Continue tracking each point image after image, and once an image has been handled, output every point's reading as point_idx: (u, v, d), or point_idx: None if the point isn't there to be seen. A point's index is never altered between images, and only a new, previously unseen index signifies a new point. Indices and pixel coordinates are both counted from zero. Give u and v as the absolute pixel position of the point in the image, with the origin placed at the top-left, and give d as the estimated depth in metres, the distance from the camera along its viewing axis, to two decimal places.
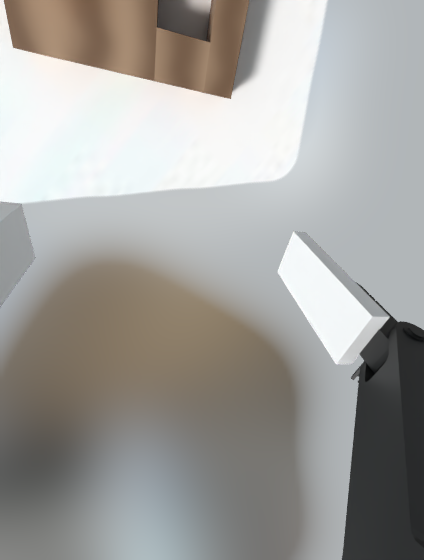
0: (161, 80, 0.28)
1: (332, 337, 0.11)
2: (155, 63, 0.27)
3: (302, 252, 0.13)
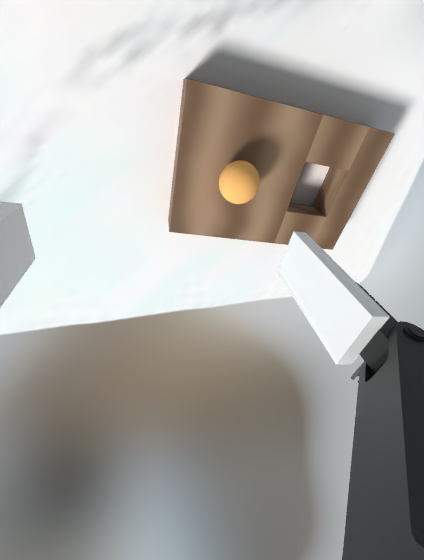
0: (280, 242, 0.32)
1: (332, 337, 0.11)
2: (278, 232, 0.32)
3: (302, 252, 0.13)
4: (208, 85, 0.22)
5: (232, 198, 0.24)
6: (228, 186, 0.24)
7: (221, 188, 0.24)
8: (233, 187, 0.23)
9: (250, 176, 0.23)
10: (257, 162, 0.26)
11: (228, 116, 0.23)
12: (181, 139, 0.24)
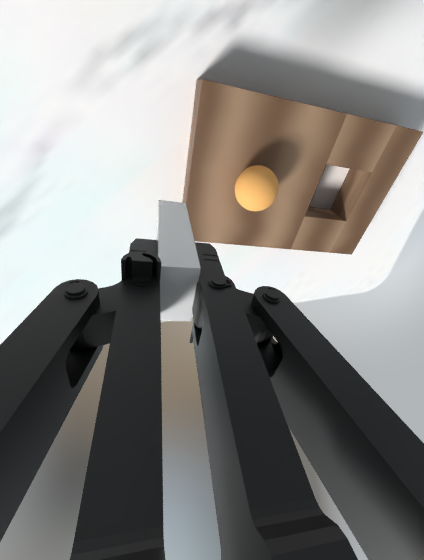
0: (296, 248, 0.31)
1: None
2: (295, 238, 0.30)
3: None
4: (224, 86, 0.20)
5: (249, 206, 0.23)
6: (246, 193, 0.22)
7: (237, 195, 0.23)
8: (251, 194, 0.22)
9: (269, 182, 0.22)
10: (275, 166, 0.25)
11: (245, 118, 0.22)
12: (195, 144, 0.22)
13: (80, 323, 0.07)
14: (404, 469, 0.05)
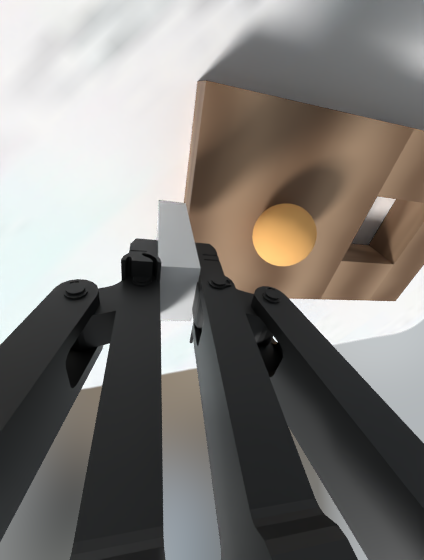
0: (328, 298, 0.24)
1: None
2: (327, 286, 0.23)
3: None
4: (240, 90, 0.13)
5: (274, 261, 0.16)
6: (271, 246, 0.15)
7: (257, 246, 0.16)
8: (279, 248, 0.15)
9: (306, 231, 0.15)
10: (307, 201, 0.18)
11: (270, 138, 0.15)
12: (196, 175, 0.15)
13: (80, 323, 0.07)
14: (404, 469, 0.05)
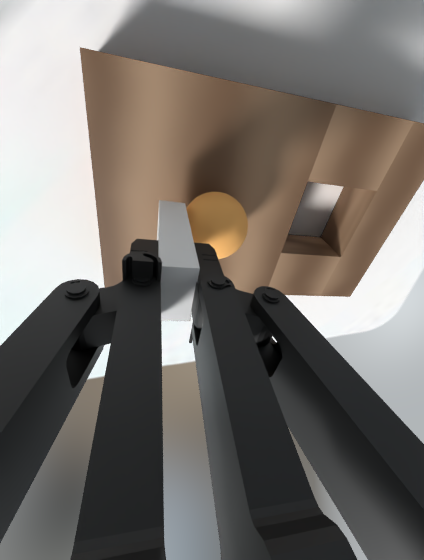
0: None
1: None
2: (270, 281, 0.22)
3: None
4: (123, 59, 0.12)
5: None
6: (211, 244, 0.14)
7: None
8: (219, 244, 0.14)
9: (241, 220, 0.14)
10: (229, 187, 0.16)
11: (169, 114, 0.13)
12: (93, 157, 0.14)
13: (81, 323, 0.07)
14: (404, 469, 0.05)
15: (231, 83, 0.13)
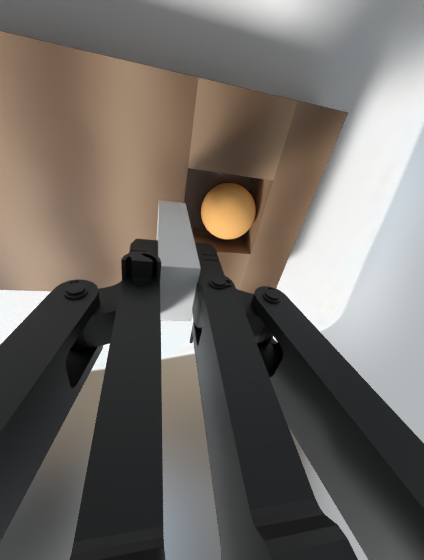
0: None
1: None
2: None
3: None
4: None
5: (211, 231, 0.18)
6: (204, 216, 0.18)
7: (202, 217, 0.19)
8: (208, 218, 0.18)
9: (230, 205, 0.17)
10: (94, 173, 0.14)
11: None
12: None
13: (80, 323, 0.07)
14: (404, 469, 0.05)
15: (60, 48, 0.11)
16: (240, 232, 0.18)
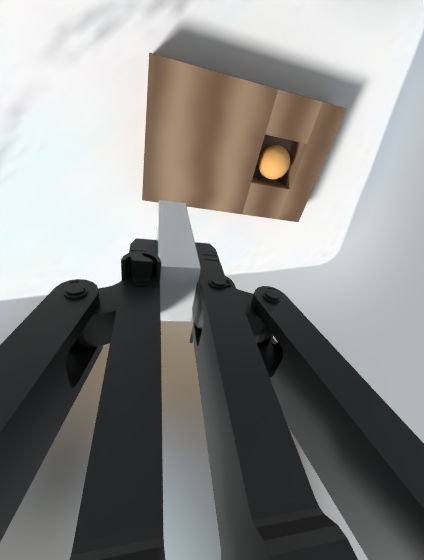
0: (247, 213, 0.35)
1: None
2: (245, 203, 0.34)
3: None
4: (169, 59, 0.24)
5: (261, 172, 0.33)
6: (259, 162, 0.32)
7: None
8: (261, 162, 0.32)
9: (274, 154, 0.31)
10: (220, 134, 0.29)
11: (189, 89, 0.26)
12: (147, 110, 0.26)
13: (80, 323, 0.07)
14: (404, 469, 0.05)
15: (222, 74, 0.25)
16: (277, 172, 0.32)
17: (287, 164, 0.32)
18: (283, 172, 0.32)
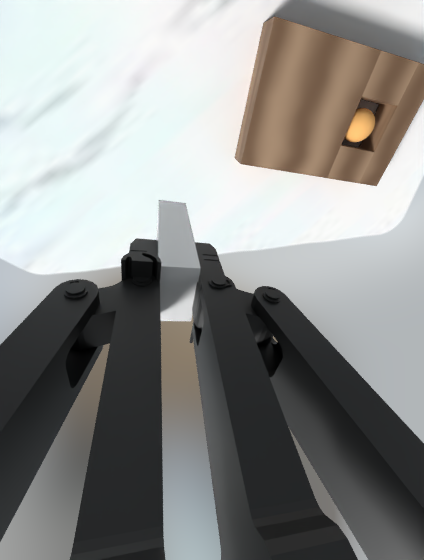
0: (332, 177, 0.37)
1: None
2: (332, 167, 0.36)
3: None
4: (290, 22, 0.26)
5: None
6: None
7: None
8: None
9: (359, 115, 0.33)
10: (321, 96, 0.31)
11: (303, 52, 0.28)
12: (262, 73, 0.28)
13: (80, 323, 0.07)
14: (404, 469, 0.05)
15: (334, 36, 0.27)
16: (360, 133, 0.34)
17: (371, 125, 0.33)
18: (366, 133, 0.34)
